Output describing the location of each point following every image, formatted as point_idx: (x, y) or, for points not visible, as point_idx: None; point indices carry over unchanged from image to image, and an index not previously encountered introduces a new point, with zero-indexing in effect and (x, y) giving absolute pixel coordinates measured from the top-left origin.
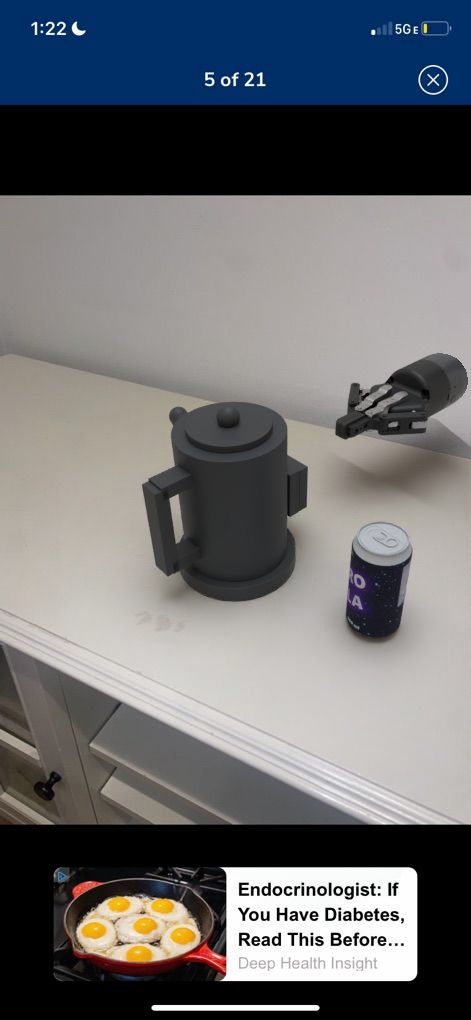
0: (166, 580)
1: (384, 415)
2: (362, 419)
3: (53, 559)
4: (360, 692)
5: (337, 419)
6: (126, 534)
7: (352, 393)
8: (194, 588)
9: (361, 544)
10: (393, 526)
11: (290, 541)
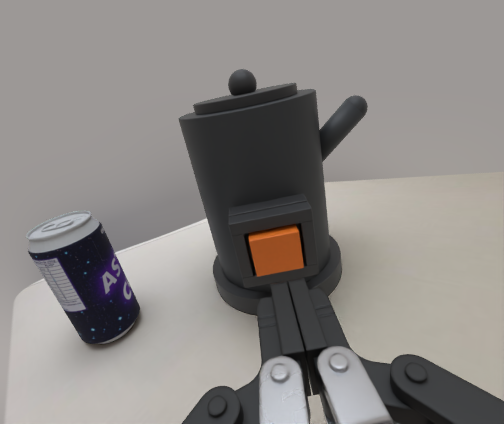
0: None
1: (214, 400)
2: (279, 349)
3: (353, 192)
4: None
5: (324, 293)
6: (364, 218)
7: None
8: None
9: (80, 211)
10: (52, 237)
11: (243, 293)
